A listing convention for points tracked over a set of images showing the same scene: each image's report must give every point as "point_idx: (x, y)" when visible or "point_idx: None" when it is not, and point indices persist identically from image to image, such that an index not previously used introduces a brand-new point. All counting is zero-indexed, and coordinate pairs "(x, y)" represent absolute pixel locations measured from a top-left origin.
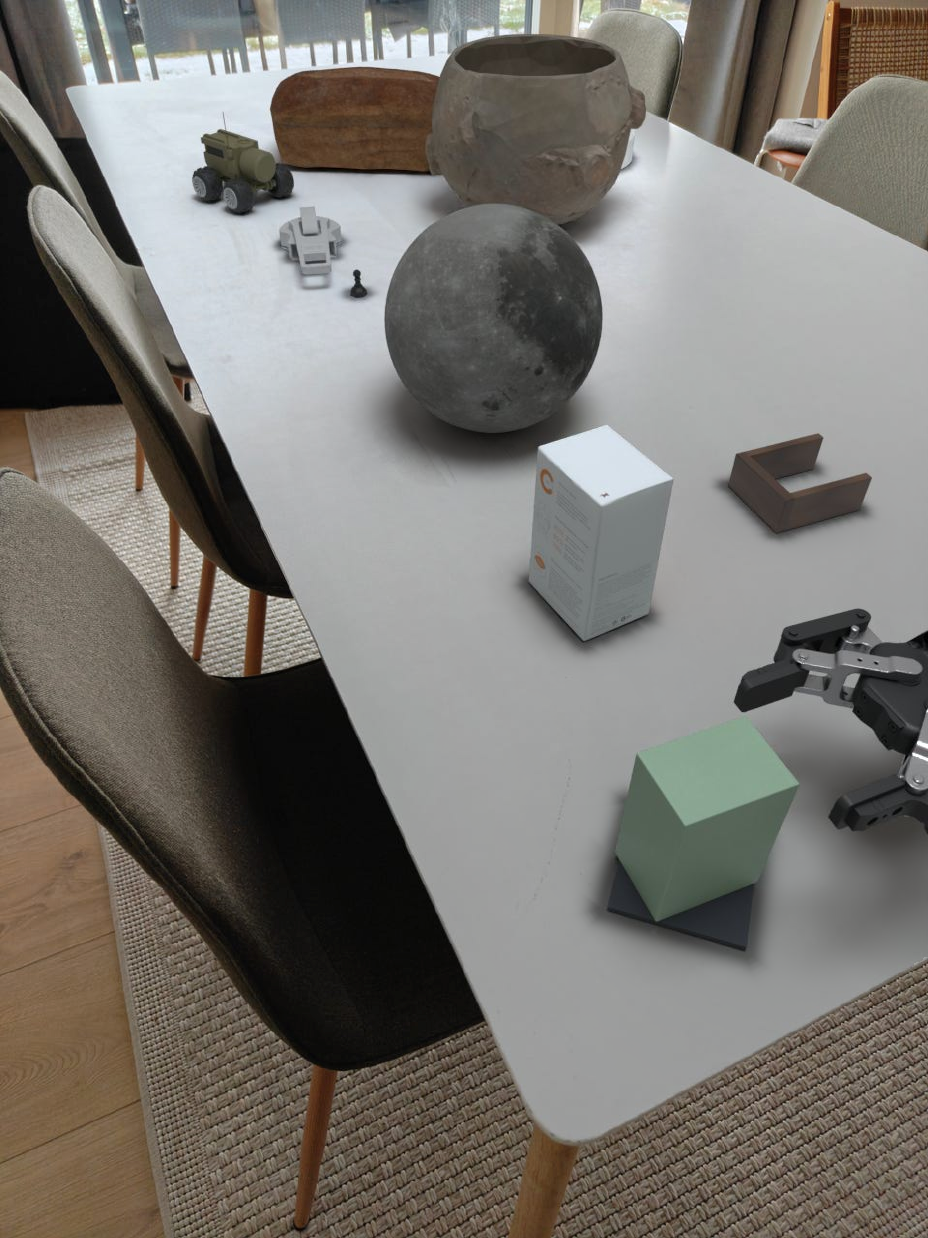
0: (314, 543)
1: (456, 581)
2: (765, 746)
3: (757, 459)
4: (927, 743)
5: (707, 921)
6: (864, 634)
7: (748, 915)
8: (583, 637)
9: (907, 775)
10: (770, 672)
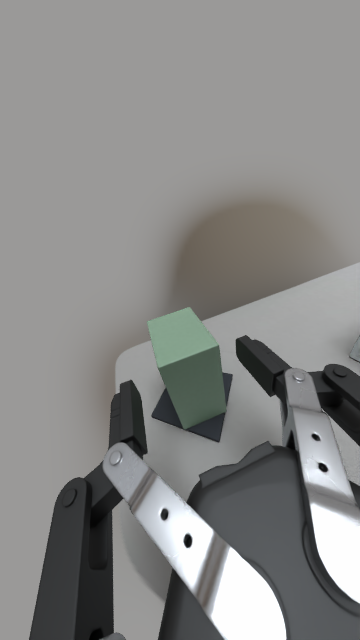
0: (338, 277)
1: (355, 309)
2: (191, 352)
3: None
4: (151, 492)
5: (166, 399)
6: None
7: (166, 420)
8: (350, 353)
9: (126, 446)
10: (261, 350)
